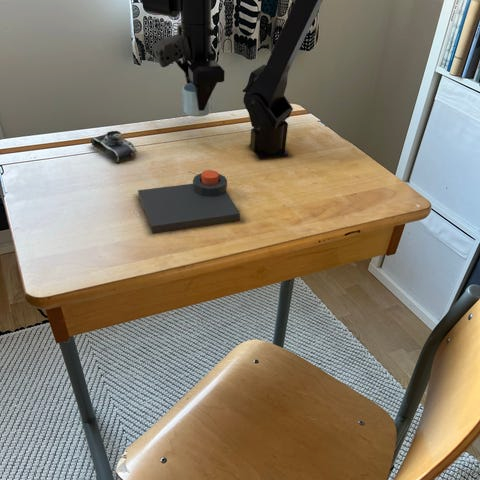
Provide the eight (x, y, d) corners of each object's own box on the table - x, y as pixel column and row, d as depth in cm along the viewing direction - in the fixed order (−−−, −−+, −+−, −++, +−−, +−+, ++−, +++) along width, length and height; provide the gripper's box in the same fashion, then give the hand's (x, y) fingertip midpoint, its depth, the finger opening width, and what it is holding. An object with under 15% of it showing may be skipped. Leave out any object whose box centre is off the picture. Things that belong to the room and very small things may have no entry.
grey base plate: (220, 185, 96) (221, 170, 94) (242, 220, 87) (243, 204, 85) (138, 195, 91) (136, 180, 89) (152, 233, 83) (150, 217, 81)
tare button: (215, 177, 92) (215, 169, 91) (220, 184, 90) (220, 176, 89) (199, 179, 92) (199, 170, 91) (204, 186, 90) (204, 178, 88)
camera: (112, 140, 108) (110, 120, 105) (139, 158, 102) (138, 137, 100) (90, 146, 105) (87, 126, 102) (117, 165, 100) (115, 144, 97)
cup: (206, 105, 112) (206, 81, 109) (214, 116, 108) (215, 91, 104) (180, 108, 110) (179, 83, 107) (187, 118, 106) (186, 93, 103)
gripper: (144, 10, 102) (150, 91, 112) (165, 36, 89) (169, 125, 100) (198, 9, 105) (199, 88, 115) (226, 33, 92) (224, 120, 102)
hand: (197, 104), depth 108 cm, fingers closed on cup, 6 cm apart
